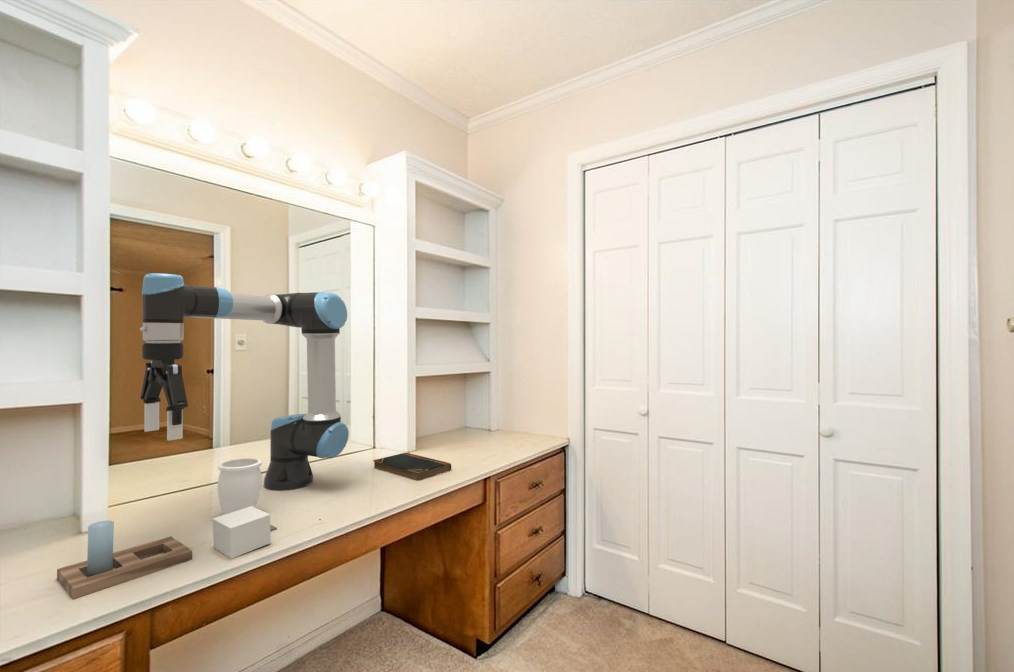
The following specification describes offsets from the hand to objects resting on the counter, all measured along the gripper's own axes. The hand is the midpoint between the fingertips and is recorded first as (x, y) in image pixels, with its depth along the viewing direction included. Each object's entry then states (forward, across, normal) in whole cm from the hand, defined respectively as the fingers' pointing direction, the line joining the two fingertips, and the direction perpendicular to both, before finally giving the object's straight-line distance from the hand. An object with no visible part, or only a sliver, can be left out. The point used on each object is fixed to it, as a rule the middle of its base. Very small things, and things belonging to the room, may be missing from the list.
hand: (163, 434), depth 106 cm
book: (+30, -7, +83) cm, 88 cm away
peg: (+27, +2, -12) cm, 30 cm away
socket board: (+27, +2, -7) cm, 28 cm away
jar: (+28, -9, +21) cm, 36 cm away
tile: (+28, +4, +20) cm, 34 cm away
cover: (+27, +10, +13) cm, 32 cm away
